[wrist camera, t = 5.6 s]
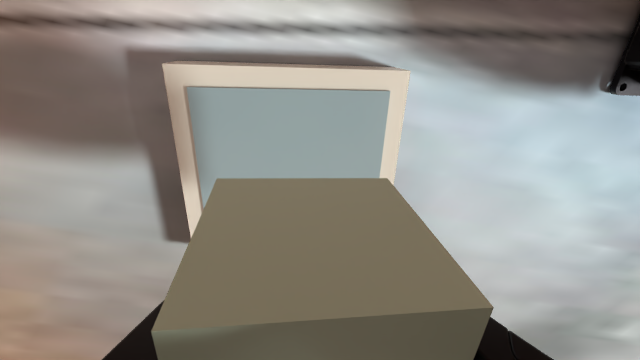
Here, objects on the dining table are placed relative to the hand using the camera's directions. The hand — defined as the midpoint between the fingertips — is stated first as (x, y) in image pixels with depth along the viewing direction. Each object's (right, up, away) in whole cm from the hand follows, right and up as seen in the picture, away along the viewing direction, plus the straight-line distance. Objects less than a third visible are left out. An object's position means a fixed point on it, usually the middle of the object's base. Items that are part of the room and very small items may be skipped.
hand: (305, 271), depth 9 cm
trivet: (-1, +4, +10) cm, 11 cm away
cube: (0, 0, +1) cm, 1 cm away
